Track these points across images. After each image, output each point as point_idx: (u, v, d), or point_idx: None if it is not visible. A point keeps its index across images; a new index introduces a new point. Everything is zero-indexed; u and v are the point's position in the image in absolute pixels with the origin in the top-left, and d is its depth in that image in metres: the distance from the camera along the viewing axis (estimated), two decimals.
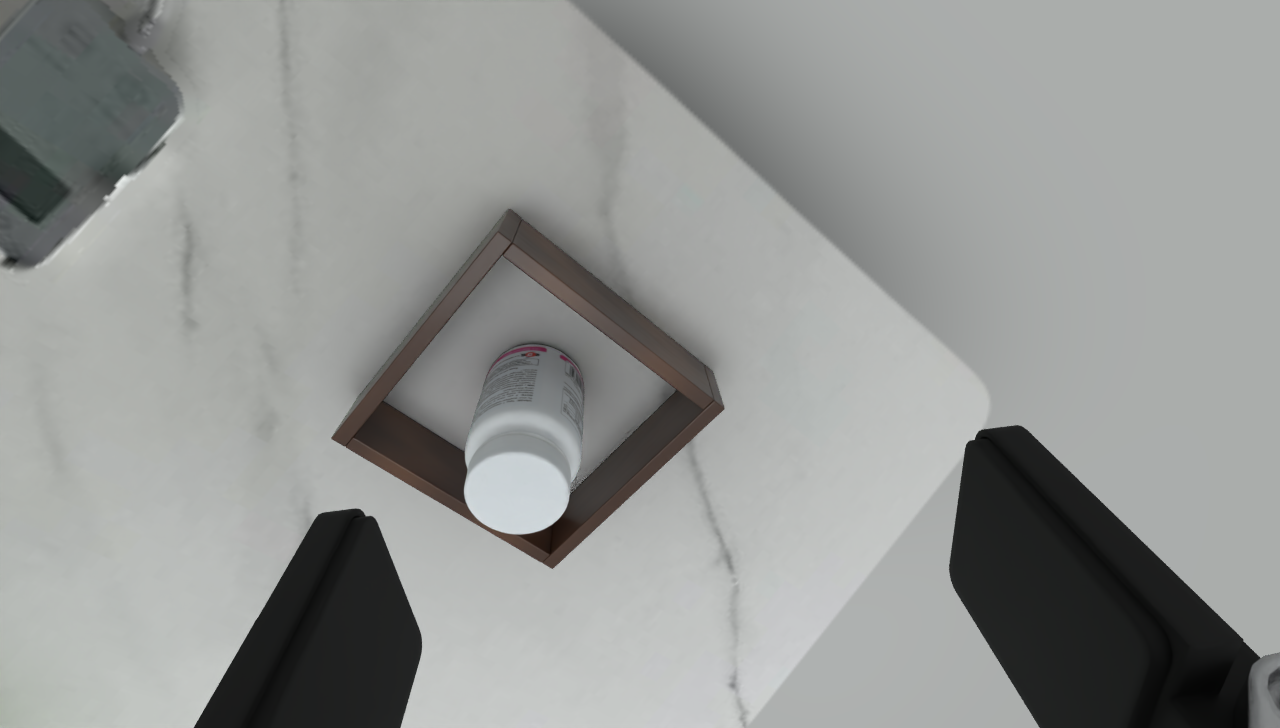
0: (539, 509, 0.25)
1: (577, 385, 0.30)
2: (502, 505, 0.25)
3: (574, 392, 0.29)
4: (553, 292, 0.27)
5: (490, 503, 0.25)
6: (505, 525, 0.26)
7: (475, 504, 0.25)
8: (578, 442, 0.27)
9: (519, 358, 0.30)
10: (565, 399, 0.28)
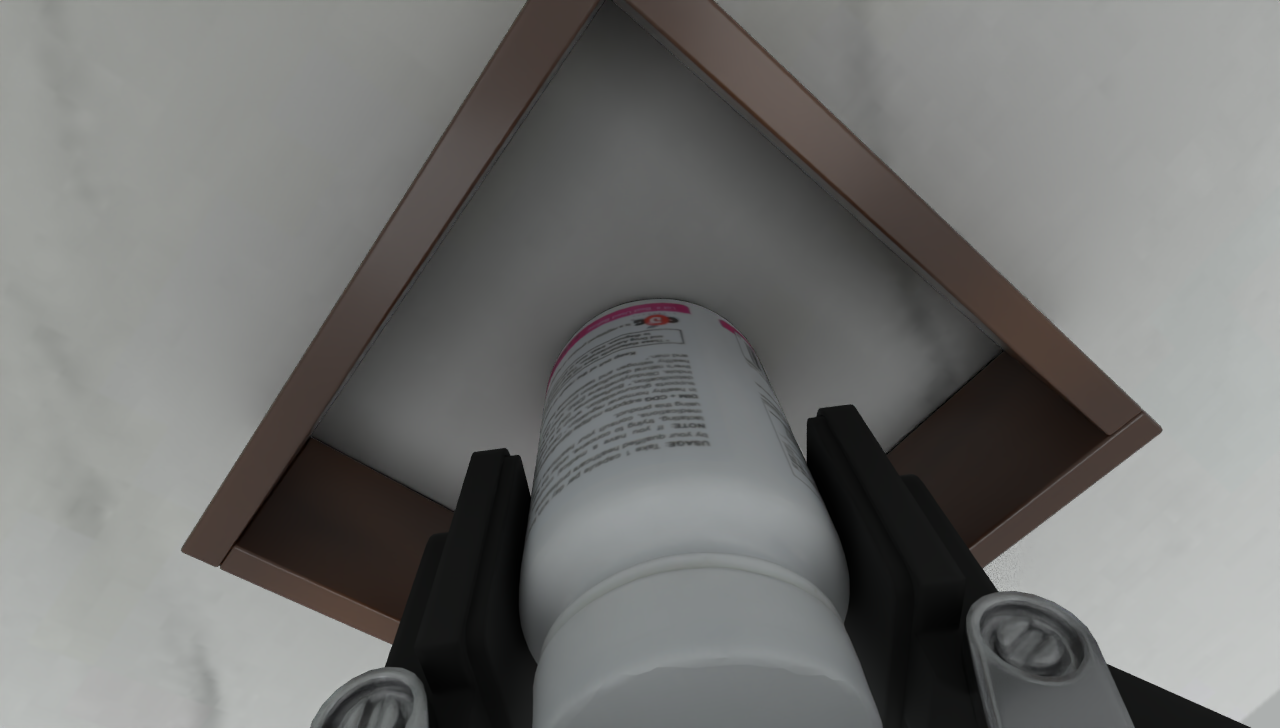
0: None
1: (772, 389, 0.13)
2: None
3: (779, 408, 0.12)
4: (761, 114, 0.09)
5: None
6: None
7: None
8: (844, 556, 0.09)
9: (631, 329, 0.12)
10: (780, 430, 0.10)
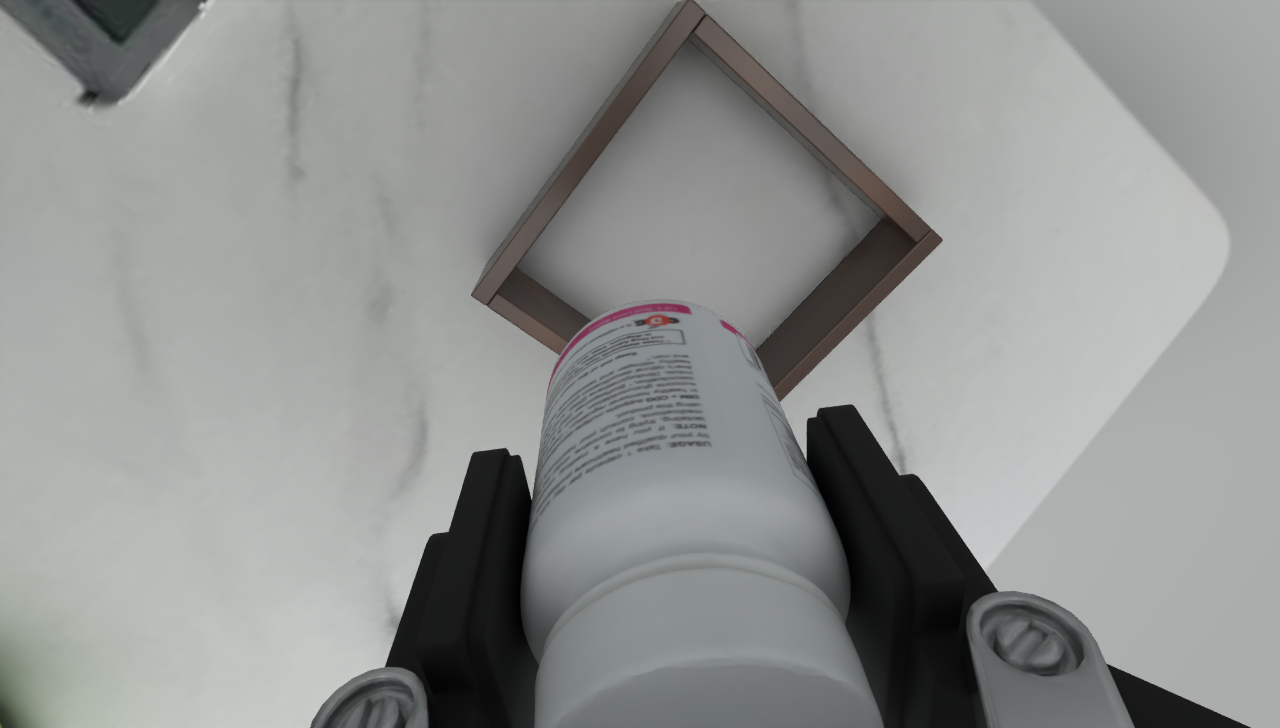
0: None
1: None
2: None
3: (780, 409, 0.12)
4: (751, 83, 0.21)
5: None
6: None
7: None
8: (845, 556, 0.09)
9: (632, 331, 0.12)
10: (781, 431, 0.10)
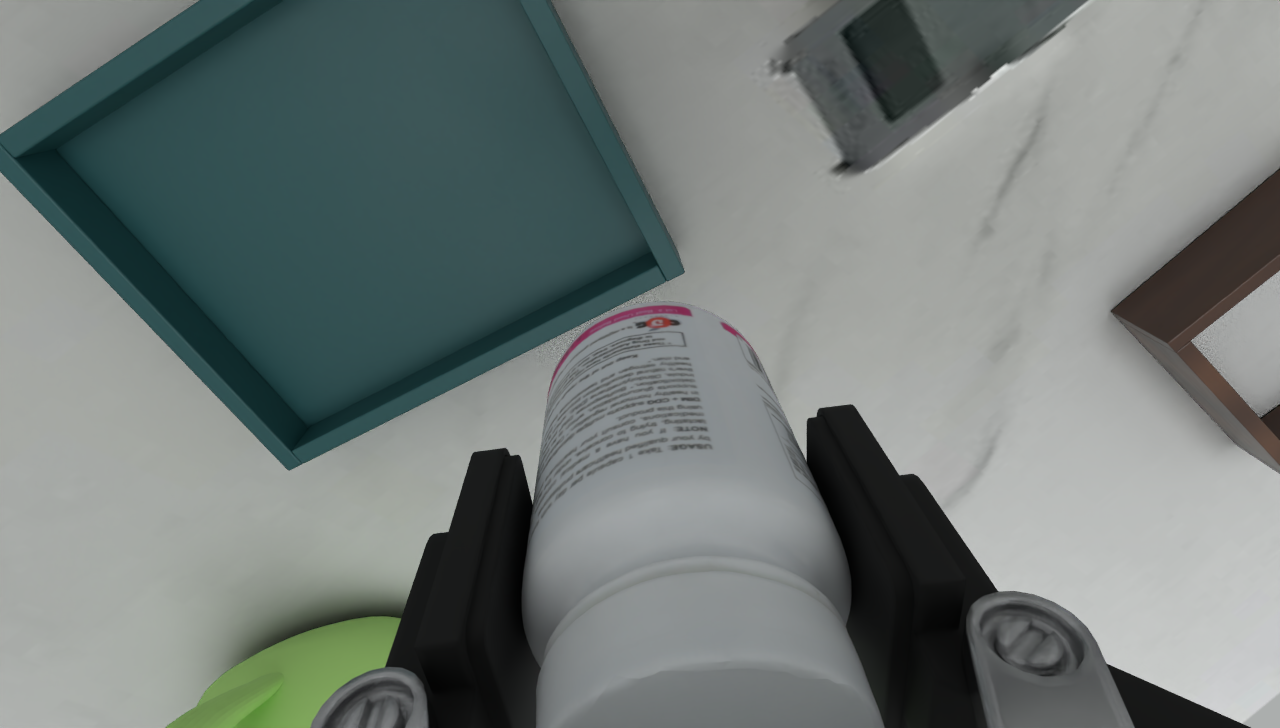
0: None
1: None
2: None
3: (781, 411, 0.12)
4: None
5: None
6: None
7: None
8: (846, 559, 0.09)
9: (633, 333, 0.12)
10: (782, 433, 0.10)
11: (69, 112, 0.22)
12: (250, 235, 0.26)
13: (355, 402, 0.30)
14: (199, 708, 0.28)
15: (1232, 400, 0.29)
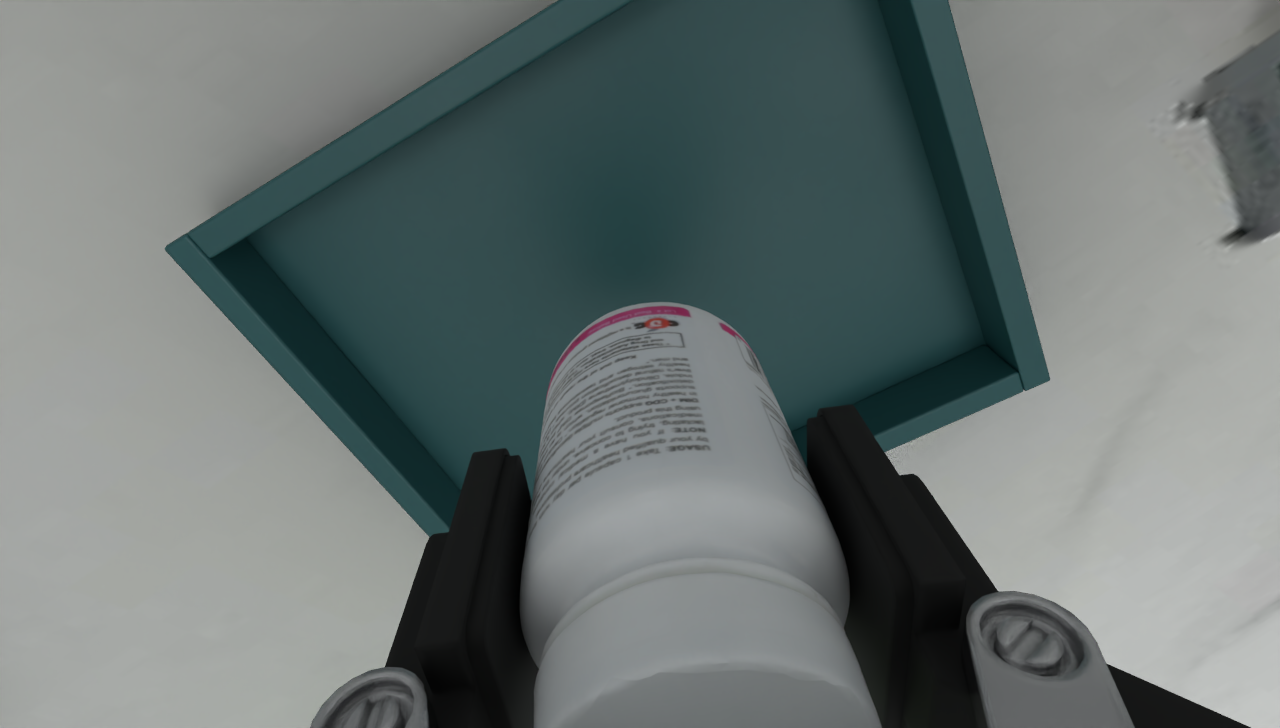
0: None
1: (772, 392, 0.13)
2: None
3: (780, 412, 0.12)
4: None
5: None
6: None
7: None
8: None
9: (632, 333, 0.12)
10: (781, 434, 0.10)
11: (289, 198, 0.16)
12: (480, 337, 0.21)
13: None
14: None
15: None
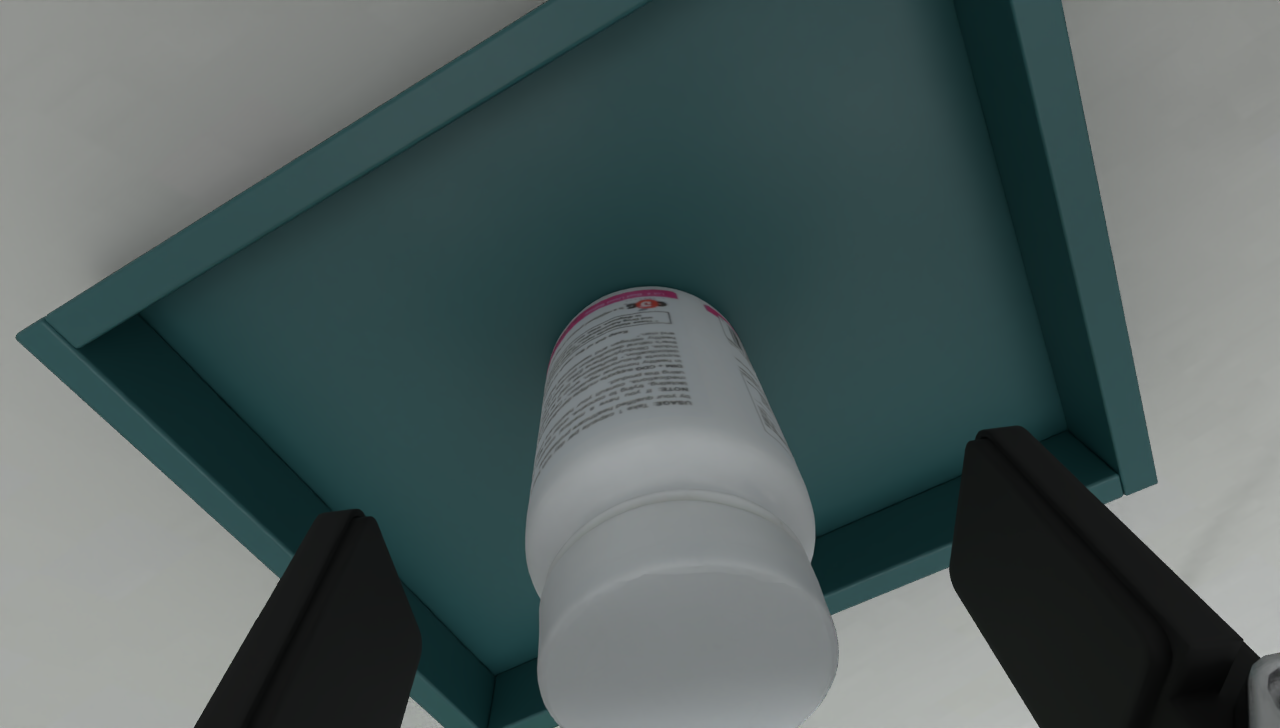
0: (750, 709, 0.09)
1: None
2: (648, 704, 0.09)
3: (757, 381, 0.13)
4: None
5: (613, 702, 0.09)
6: None
7: (572, 708, 0.09)
8: (810, 503, 0.11)
9: (624, 312, 0.14)
10: (756, 397, 0.12)
11: (177, 273, 0.12)
12: (443, 428, 0.16)
13: None
14: None
15: None
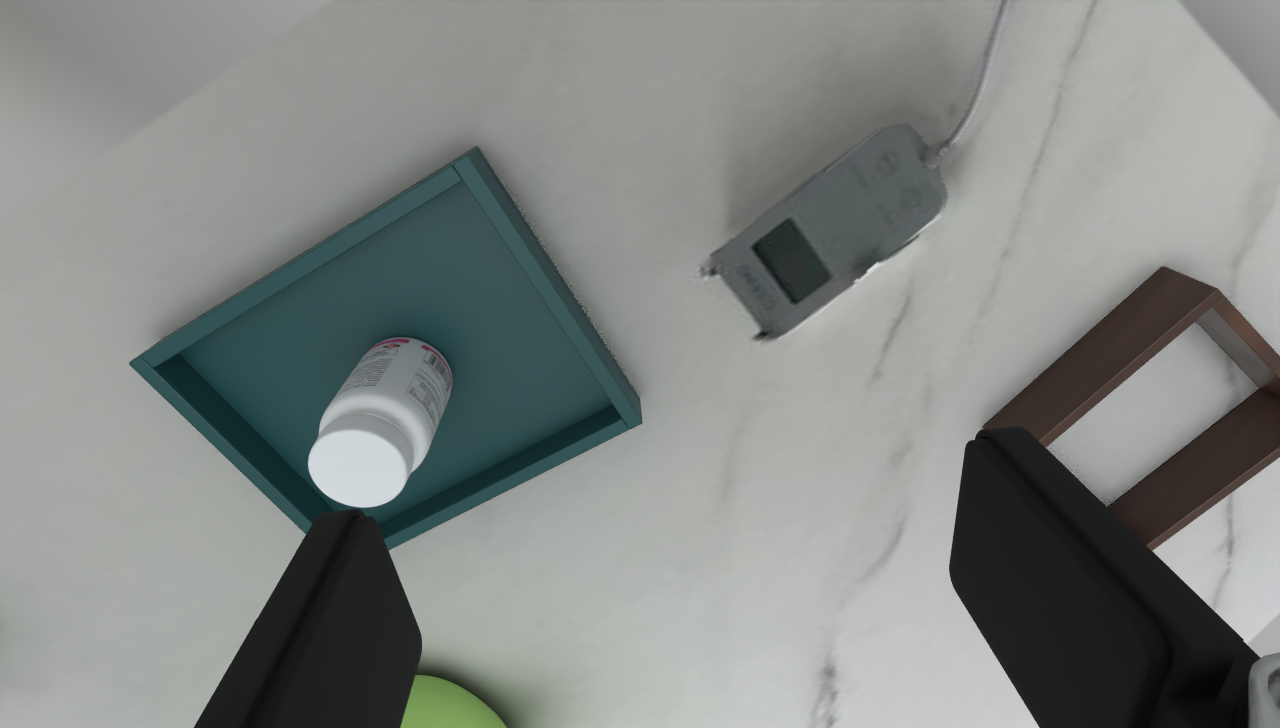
0: (380, 482, 0.28)
1: (436, 371, 0.33)
2: (346, 480, 0.28)
3: (429, 378, 0.32)
4: (1240, 332, 0.33)
5: (334, 479, 0.27)
6: (352, 499, 0.28)
7: (321, 481, 0.27)
8: (423, 421, 0.29)
9: (380, 350, 0.32)
10: (415, 383, 0.30)
11: (193, 337, 0.31)
12: (316, 402, 0.35)
13: (394, 515, 0.39)
14: None
15: None
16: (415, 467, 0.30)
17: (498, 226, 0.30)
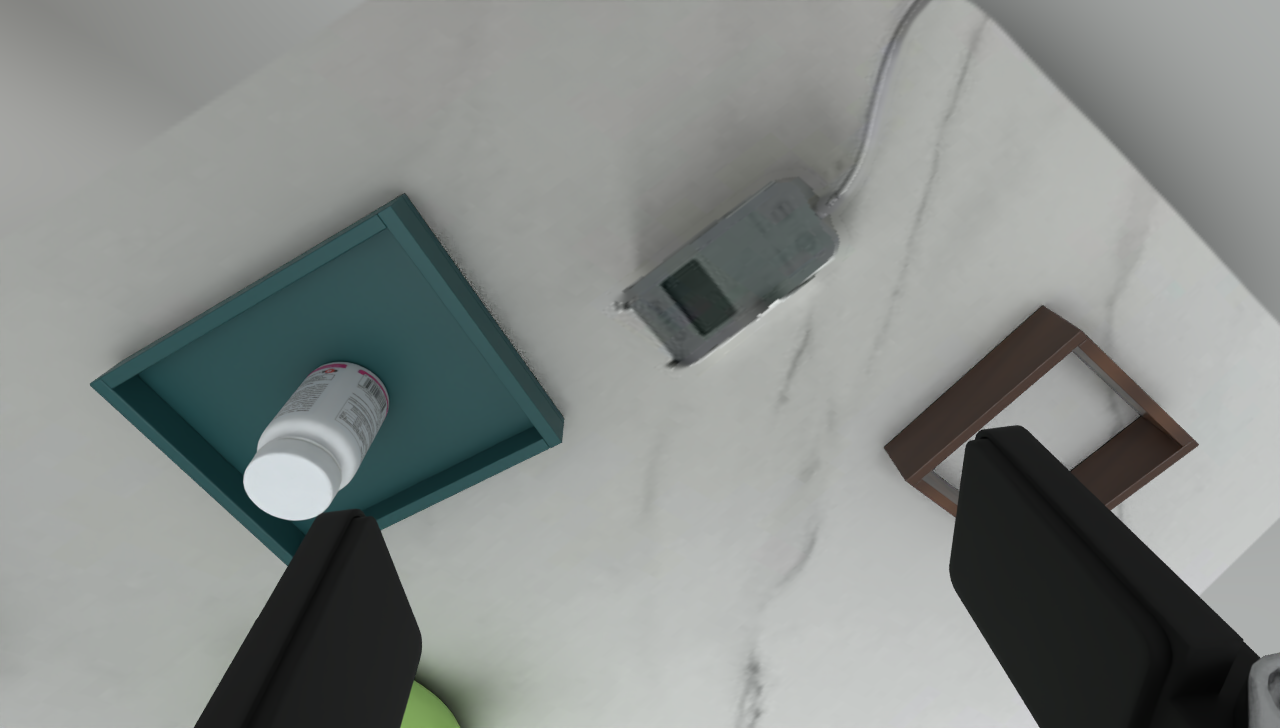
0: (309, 499, 0.31)
1: (370, 395, 0.36)
2: (278, 496, 0.31)
3: (362, 401, 0.35)
4: (1104, 369, 0.36)
5: (267, 495, 0.31)
6: (285, 513, 0.31)
7: (256, 497, 0.31)
8: (351, 442, 0.33)
9: (319, 374, 0.36)
10: (347, 407, 0.34)
11: (148, 362, 0.34)
12: (265, 418, 0.39)
13: None
14: None
15: None
16: (345, 483, 0.33)
17: (421, 268, 0.33)
